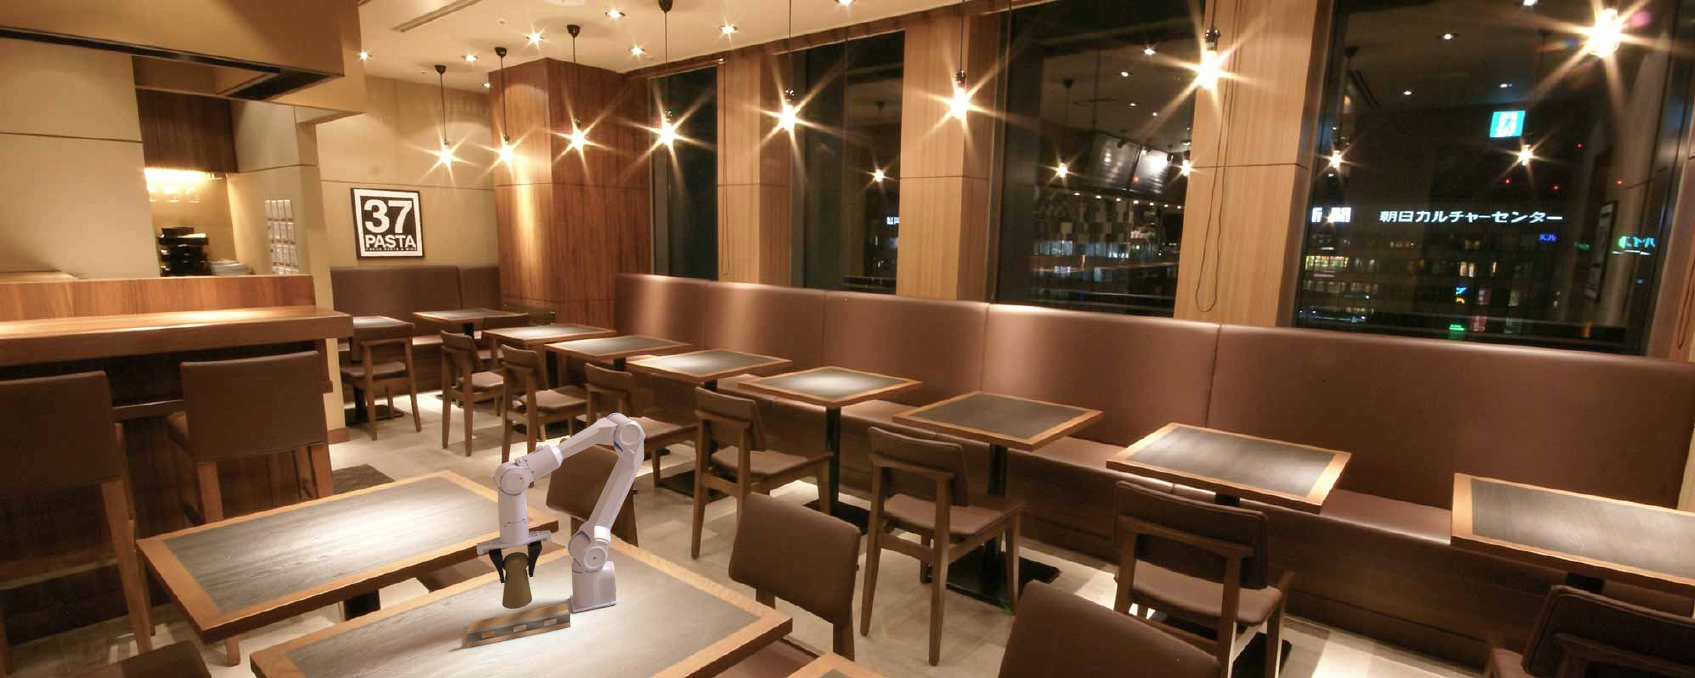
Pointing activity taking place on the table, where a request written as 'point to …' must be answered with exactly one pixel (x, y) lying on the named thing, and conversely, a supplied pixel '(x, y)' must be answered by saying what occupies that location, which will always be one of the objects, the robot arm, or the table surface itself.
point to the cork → (516, 581)
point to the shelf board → (517, 625)
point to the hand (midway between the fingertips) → (516, 578)
